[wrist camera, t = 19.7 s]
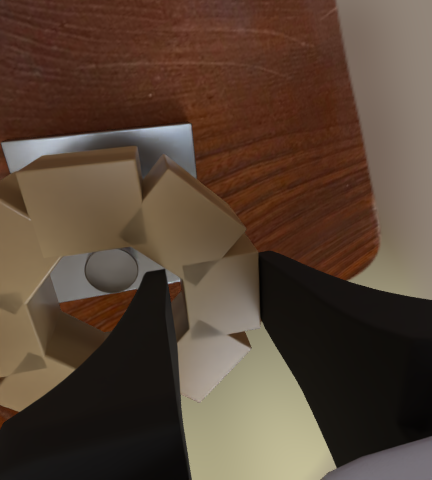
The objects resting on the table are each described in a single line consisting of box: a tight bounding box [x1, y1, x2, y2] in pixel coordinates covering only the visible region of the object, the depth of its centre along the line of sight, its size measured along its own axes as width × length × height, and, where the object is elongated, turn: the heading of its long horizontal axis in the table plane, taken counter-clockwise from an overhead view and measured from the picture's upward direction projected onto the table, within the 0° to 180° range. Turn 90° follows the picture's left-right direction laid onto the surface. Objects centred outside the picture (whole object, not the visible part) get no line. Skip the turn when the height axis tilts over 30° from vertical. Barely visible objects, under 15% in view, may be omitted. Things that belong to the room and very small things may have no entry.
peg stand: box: [1, 121, 197, 303], centre depth 16 cm, size 9×9×7 cm
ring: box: [0, 146, 261, 412], centre depth 11 cm, size 9×9×2 cm
